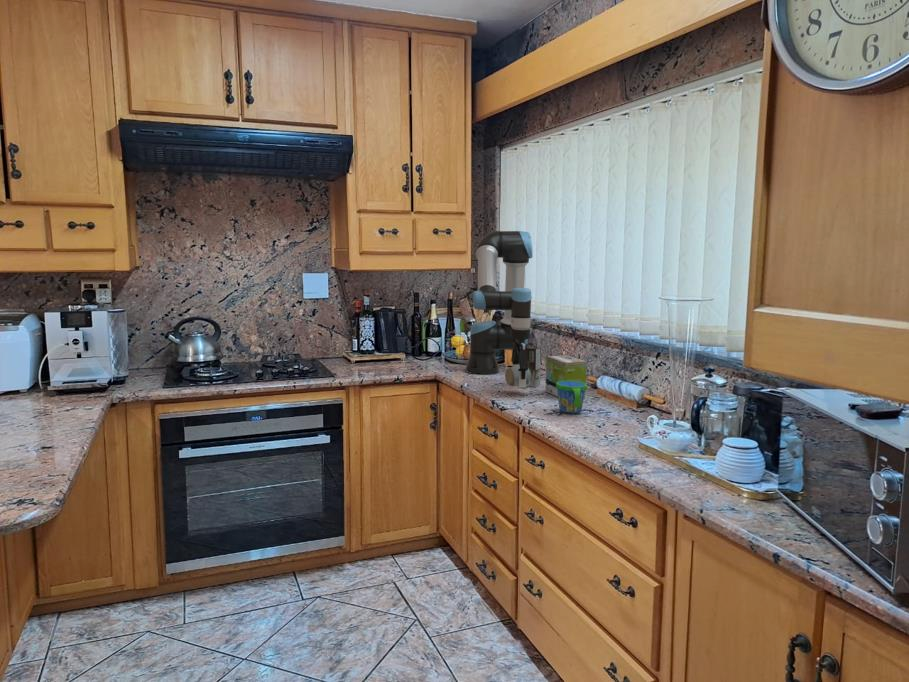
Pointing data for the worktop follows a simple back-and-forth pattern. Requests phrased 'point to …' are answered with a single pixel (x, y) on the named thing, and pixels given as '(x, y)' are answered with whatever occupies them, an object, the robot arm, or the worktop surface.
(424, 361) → the worktop surface
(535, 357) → the coffee box
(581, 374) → the tea box
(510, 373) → the ceramic mug
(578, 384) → the snack cup
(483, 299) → the robot arm
